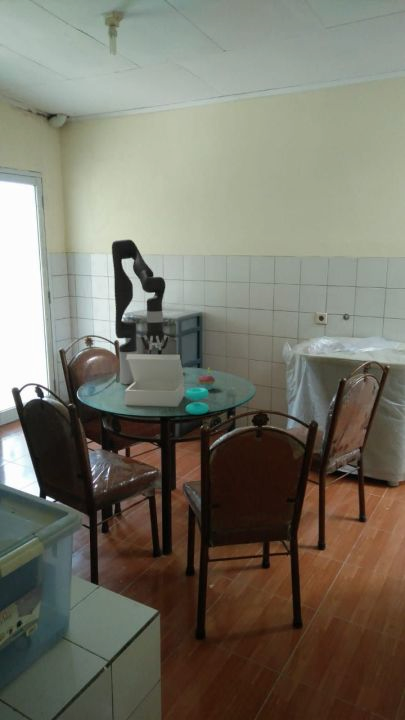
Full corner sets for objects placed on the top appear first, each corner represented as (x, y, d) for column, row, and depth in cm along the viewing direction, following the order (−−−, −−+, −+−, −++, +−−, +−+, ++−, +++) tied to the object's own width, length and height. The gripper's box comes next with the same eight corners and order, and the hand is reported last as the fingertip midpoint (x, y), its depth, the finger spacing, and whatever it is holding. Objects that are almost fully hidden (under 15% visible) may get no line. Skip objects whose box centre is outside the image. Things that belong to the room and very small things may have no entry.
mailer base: (135, 395, 250) (134, 381, 248) (184, 396, 246) (183, 382, 245) (125, 405, 233) (124, 390, 232) (177, 406, 230) (177, 391, 228)
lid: (133, 384, 247) (136, 372, 252) (183, 385, 243) (185, 372, 249) (125, 358, 233) (129, 346, 238) (178, 359, 230) (180, 346, 235)
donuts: (186, 393, 215) (184, 387, 224) (186, 416, 217) (184, 409, 226) (210, 392, 216) (206, 386, 226) (210, 414, 218) (207, 408, 228)
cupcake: (218, 388, 259) (218, 365, 257) (207, 392, 253) (206, 368, 251) (206, 386, 265) (205, 363, 263) (194, 389, 259) (194, 366, 257)
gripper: (171, 320, 239) (172, 356, 242) (142, 319, 241) (143, 356, 244) (168, 321, 232) (169, 359, 235) (138, 321, 233) (139, 359, 237)
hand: (156, 357), depth 239 cm, fingers closed on lid, 3 cm apart
